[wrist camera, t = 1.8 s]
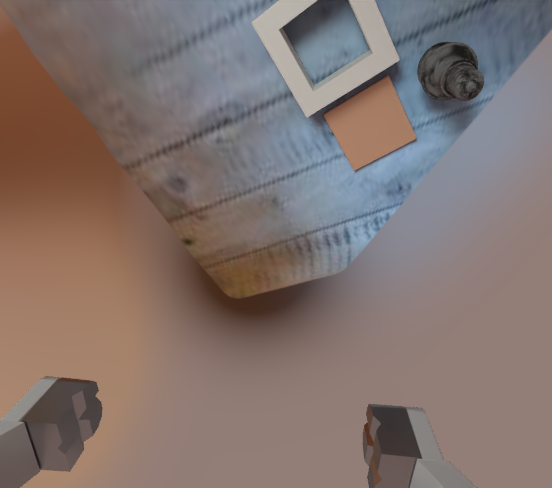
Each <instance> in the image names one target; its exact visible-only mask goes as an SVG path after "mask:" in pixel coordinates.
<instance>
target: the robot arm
mask: <svg viewBox="0 0 552 488" xmlns="http://www.w3.org/2000/svg"><path fill="white" fill-rule="evenodd" d="M98 391H99V390H98V387H97V383H96V382H94V381H89V380H80V379H71V378H59V377H50V376H45V377H43V378H41V379H40V380H39V381H38V382H37V383H36V384H35V385H34V386H33V387H32V388H31V389H30V390H29V391H28V392H27V393H26V394H25V395H24V397H22V398H21V400H20V401H19V402H18V403H17V404H16V405H15V406H14V407H13V408H12V409H11V410H10V411H9V412H8V413H7V414H6V415H5V416H4V417H3V418H2V419H1V420H0V488H20V487H21V486H22V485H23V484H25V483H26V482H27V481H29V480H30V479H31V478H32V477H33V476H35V475H36V474H37V473H39V472H40V470H54V471H69V472H70V470H71V469H72V467H73V466H74V464H75V463H76V461H77V460H78V458H79V457H80V455H81V454H82V452H83V450H84V444H83V442H84V441H86V440H87V439H89V438H90V437H92V436H93V435H94V433H95V431H96V430H97V428H98V426H99V423H100V420H101V417H102V404H101V401H100V400H99V399H98V398H97V397H96V396H95V395H96V394H97V392H98ZM366 416H367V421H368V422H367V423H366V424H365V425H364V431H363V451H364V459H365V462H366V463H367V464H368V466H369V472H368V477H367V478H368V484H369V488H477V487H476V486H475V485H474V484H473V483H472V482H471V481H470V480H469V479H468V478H467V477H466V476H465V475H463V474H462V473H461V472H460V471H459V470H458V469H457V468H456V467H455V466H454V465H453V464H452V463H451V462H448V461H444V459H443V456H442V453H441V451H440V448H439V446H438V443H437V441H436V438H435V435H434V433H433V430H432V428H431V425H430V423H429V420H428V418H427V415H426V412H425V411H424V410H423V408H417V407H403V406H390V405H389V406H388V405H377V404H369V405H368V407H367V412H366Z"/></svg>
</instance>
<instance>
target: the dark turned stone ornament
mask: <svg viewBox="0 0 552 488" xmlns="http://www.w3.org/2000/svg"><path fill="white" fill-rule="evenodd" d="M477 67H478V61H477V56H476V54H475V52H474V50H473V49H471V48H470V47H469V46H468V45H466V44H463V43H457V42H454V43H452V42H442V43H438V44H436V45H434V46H432V47H431V48H430V49H428V50H427V51H426V52H425V54H424V55H423V56H422V58H421V60H420V62H419V65H418V73H417V74H418V79H419V81H420V83H421V84H422V87H423V89H424V91H425V92H426V93H427V94H428V95H429V96H430V97H432V98H434V99H436V100H448V99H452V98H457V99H459V100H464V101H466V100H470V99H473V98H474V97H476V96H477V95H478V94H479V93H480V92H481V90H482V88H483V85H484V77H483V75H482V73H481V72H480V71H479V70H478V69H477Z"/></svg>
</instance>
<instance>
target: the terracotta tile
mask: <svg viewBox="0 0 552 488" xmlns="http://www.w3.org/2000/svg"><path fill="white" fill-rule="evenodd" d="M323 115H324V117H325V119H326V121H327V123H328V124H329V126H330V128H331V130H332V132H333V133H334V135H335V137H336V139H337V141H338V142H339V144H340V146H341V148H342V150H343V151H344V153H345V155H346V157H347V158H348V160H349V162H350V164H351V166H352V167H353V169H354V171H355V170H357V169H359V168H360V167H362V166H364V165H366V164H368V163H370V162H372V161H374V160H376V159H378V158H380V157H382V156H384V155H386V154H388V153H390V152H391V151H393V150H395V149H397V148H399V147H401V146H403V145H405V144H407V143H409V142H411V141H413V140H415V139H417V138H416V136H415V133H414V131H413V129H412V127H411V124H410V122H409V120H408V118H407V115H406V113H405V111H404V109H403V106H402V104H401V102H400V100H399V97H398V95H397V93H396V90H395V88H394V86H393V84H392V81H391V79H390V77H389V75H387V76H385V77H384V78H382V79H380V80H379V81H377V82H375V83H374V84H372V85H370V86H369V87H367V88H366V89H364V90H362V91H361V92H359V93H357V94H356V95H354V96H352V97H351V98H349V99H347V100H346V101H344V102H343V103H341V104H339V105H338V106H336V107H334V108H333V109H331V110H329V111H328V112H326V113H324V114H323Z"/></svg>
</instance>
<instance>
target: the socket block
mask: <svg viewBox="0 0 552 488" xmlns="http://www.w3.org/2000/svg"><path fill="white" fill-rule="evenodd" d="M316 1H317V0H279V1H278V2H277V3H275V4H274V5H273V6H272V7H270V8H269V9H268V10H267V11H265V12H264V13H263V14H262V15H260V16H259V17H258V18H257V19H255V20H254V21H253V22H252V25H253V26H254V28H255V30H256V32H257V33H258V35H259V37H260V38H261V40H262V42H263V44H264V45H265V47H266V49H267V50H268V52H269V54H270V56H271V57H272V59H273V61H274V62H275V64H276V66H277V68H278V69H279V71H280V73H281V74H282V76H283V78H284V80H285V81H286V83H287V85H288V86H289V88H290V90H291V92H292V93H293V95H294V97H295V99H296V100H297V102H298V104H299V105H300V107H301V109H302V111H303V112H304V114H305V116H306V117H309V116H310V115H312V114H314V113H315V112H317V111H318V110H320V109H322V108H323V107H325V106H327V105H328V104H330V103H331V102H333V101H335V100H336V99H338V98H339V97H341V96H343V95H344V94H346V93H348V92H349V91H351V90H352V89H354V88H356V87H357V86H359V85H361V84H362V83H364V82H365V81H367V80H369V79H370V78H372V77H374V76H375V75H377V74H378V73H380V72H382V71H383V70H385V69H386V68H388V67H390V66H391V65H393V64H395V63H396V62H398V61H399V60H400V59H399V57H398V54H397V52H396V50H395V47H394V45H393V42H392V40H391V38H390V35H389V33H388V31H387V28H386V26H385V23H384V21H383V19H382V16H381V14H380V11H379V9H378V7H377V4H376V2H375V0H348V2H349V4H350V6H351V9H352V11H353V13H354V15H355V18H356V20H357V22H358V24H359V26H360V29H361V31H362V33H363V35H364V37H365V40H366V42H367V44H368V46H369V48H370V50H368V51H367V52H365V53H364V54H362V55H360V56H359V57H357V58H356V59H354V60H353V61H351V62H350V63H348V64H347V65H345V66H344V67H342V68H341V69H339V70H337V71H336V72H334V73H333V74H331V75H330V76H328V77H327V78H325V79H324V80H322V81H321V82H319V83H318V84H316V85H315V86H314V84H313V83H312V81H311V79H310V77H309V75H308V73H307V72H306V70H305V68H304V66H303V64H302V63H301V61H300V59H299V57H298V55H297V53H296V52H295V50H294V48H293V46H292V44H291V42H290V41H289V39H288V37H287V35H286V33H285V31H284V30H283V28H282V27H283V26H284V25H286V24H287V23H288V22H290V21H291V20H292V19H294V18H295V17H296V16H298V15H299V14H300V13H301V12H303V11H304V10H305V9H307V8H308V7H309V6H311V5H312V4H313V3H315V2H316Z"/></svg>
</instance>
